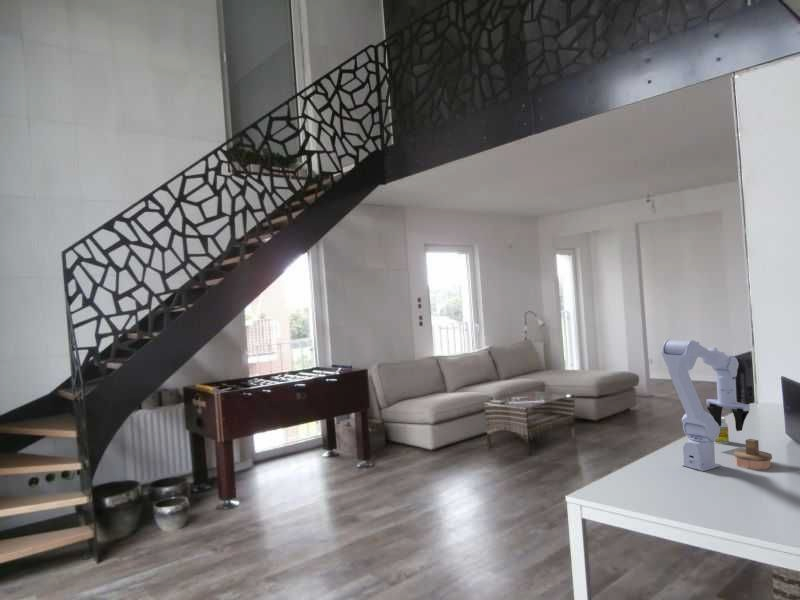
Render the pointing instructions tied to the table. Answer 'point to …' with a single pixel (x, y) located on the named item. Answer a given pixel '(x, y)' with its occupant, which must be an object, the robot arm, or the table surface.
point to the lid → (752, 452)
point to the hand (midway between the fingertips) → (728, 428)
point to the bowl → (752, 464)
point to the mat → (731, 452)
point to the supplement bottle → (723, 433)
